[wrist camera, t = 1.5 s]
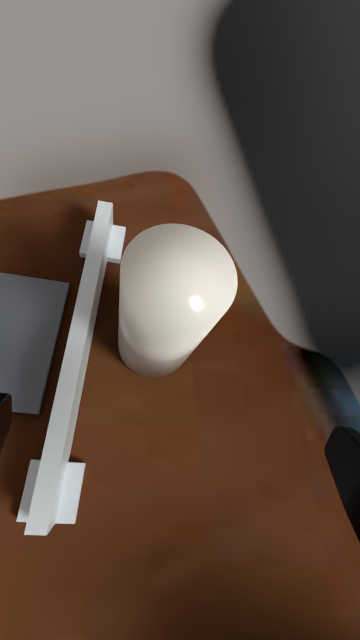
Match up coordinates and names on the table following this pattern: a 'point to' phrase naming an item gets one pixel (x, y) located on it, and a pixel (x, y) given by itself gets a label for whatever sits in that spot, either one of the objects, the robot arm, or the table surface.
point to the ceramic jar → (171, 296)
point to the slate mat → (28, 336)
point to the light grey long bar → (71, 389)
